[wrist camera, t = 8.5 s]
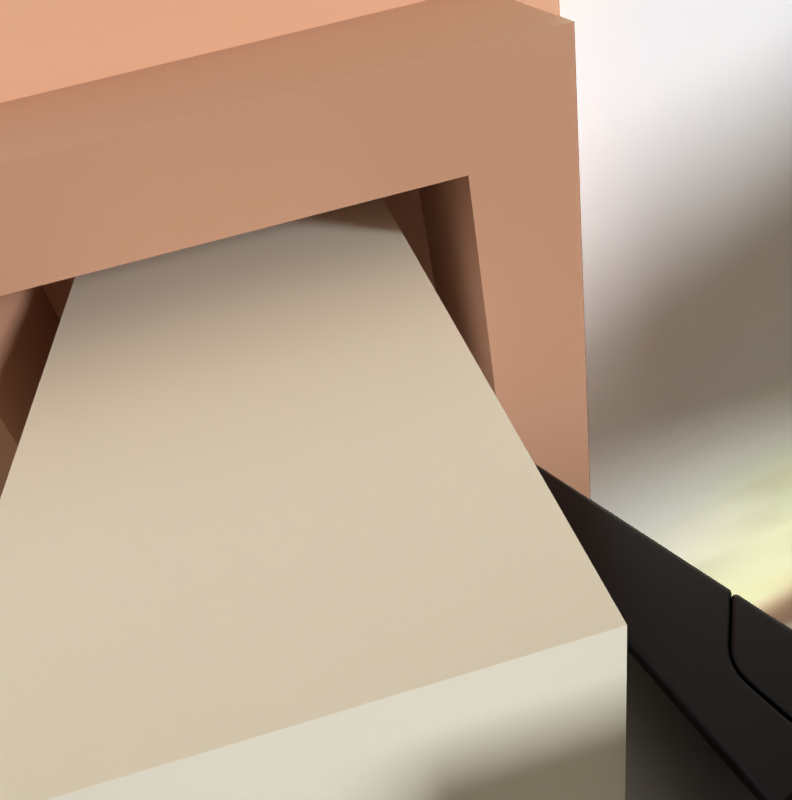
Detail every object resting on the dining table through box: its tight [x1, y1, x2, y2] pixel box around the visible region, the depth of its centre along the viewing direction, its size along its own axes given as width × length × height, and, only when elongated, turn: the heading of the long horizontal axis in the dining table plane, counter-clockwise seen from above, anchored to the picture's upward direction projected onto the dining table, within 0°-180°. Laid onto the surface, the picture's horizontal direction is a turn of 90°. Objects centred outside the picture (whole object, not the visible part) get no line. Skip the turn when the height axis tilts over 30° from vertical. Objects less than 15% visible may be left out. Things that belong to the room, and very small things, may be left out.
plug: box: [0, 198, 627, 800], centre depth 9 cm, size 4×6×8 cm, turn 11°
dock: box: [0, 0, 590, 499], centre depth 11 cm, size 10×12×4 cm
